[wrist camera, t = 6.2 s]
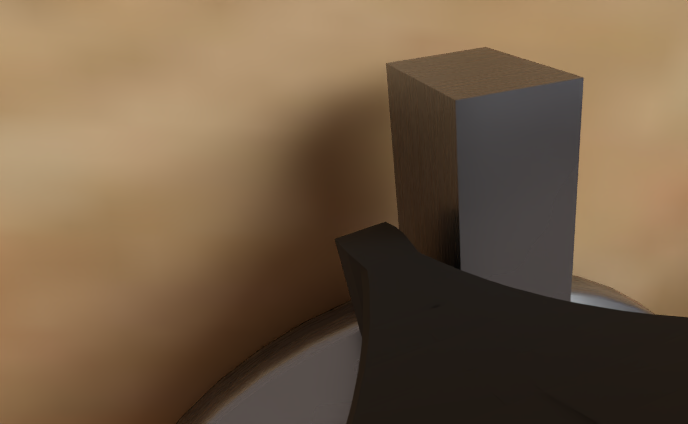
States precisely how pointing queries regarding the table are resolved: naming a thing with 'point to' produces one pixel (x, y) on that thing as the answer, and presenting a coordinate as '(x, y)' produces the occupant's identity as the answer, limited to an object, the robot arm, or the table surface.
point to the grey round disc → (322, 369)
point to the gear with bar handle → (488, 165)
